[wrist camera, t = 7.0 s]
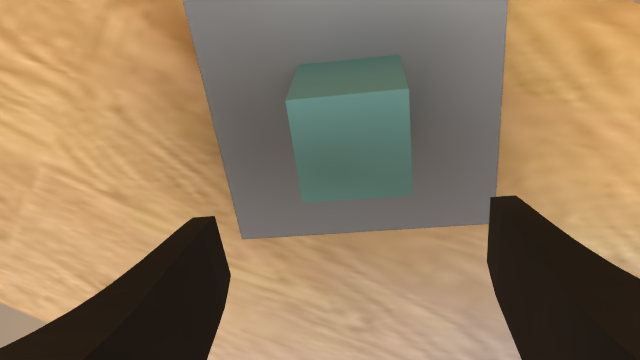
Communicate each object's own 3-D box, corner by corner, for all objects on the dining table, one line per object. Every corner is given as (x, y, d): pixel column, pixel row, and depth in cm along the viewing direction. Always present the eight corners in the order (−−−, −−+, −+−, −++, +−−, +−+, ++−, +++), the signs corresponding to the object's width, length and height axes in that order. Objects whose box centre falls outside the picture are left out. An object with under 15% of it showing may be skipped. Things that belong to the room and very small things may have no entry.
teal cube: (403, 146, 21) (412, 195, 17) (311, 154, 21) (302, 203, 18) (399, 54, 19) (408, 88, 15) (298, 64, 19) (285, 100, 16)
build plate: (488, 209, 24) (494, 223, 23) (247, 225, 25) (242, 239, 24) (502, -67, 18) (511, -65, 17) (187, -26, 19) (177, -22, 18)
